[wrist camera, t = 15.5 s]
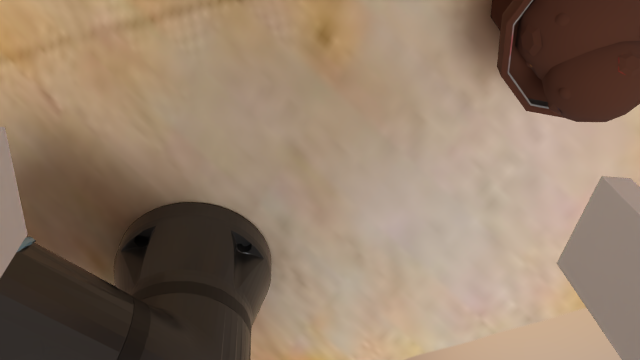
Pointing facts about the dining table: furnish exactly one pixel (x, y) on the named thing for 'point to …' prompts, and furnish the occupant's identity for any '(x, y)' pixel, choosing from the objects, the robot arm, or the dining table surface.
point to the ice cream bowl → (571, 56)
